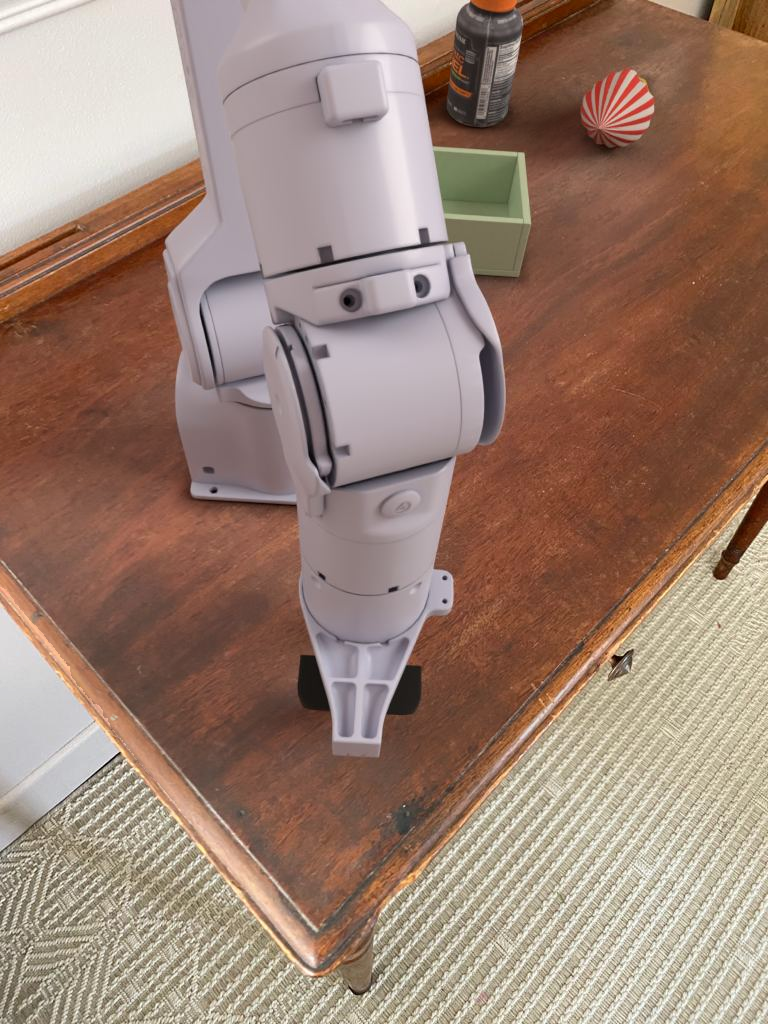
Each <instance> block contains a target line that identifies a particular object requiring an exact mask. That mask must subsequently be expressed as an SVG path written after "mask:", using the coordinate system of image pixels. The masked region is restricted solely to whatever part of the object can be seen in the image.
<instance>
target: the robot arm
mask: <svg viewBox="0 0 768 1024" xmlns="http://www.w3.org/2000/svg"><path fill="white" fill-rule="evenodd" d="M169 2H170V7H171V13H172V18H173V23H174V29H175V34H176V39H177V40H176V41H177V45H178V50H179V54H180V55H179V56H180V61H181V66H182V72H183V76H184V82H185V87H186V91H187V98H188V102H189V107H190V113H191V119H192V124H193V128H194V129H193V130H194V134H195V140H196V145H197V150H198V155H199V161H200V165H201V171H202V176H203V177H202V178H203V181H204V187H205V191H206V194H205V195H204V197H203V198H202V200H201V201H200V202H199V203H198V204H197V205H196V206H195V208H193V209H192V211H191V212H190V213H189V214H188V215H187V216H186V217H185V218H184V219H183V220H181V222H179V224H178V225H176V227H175V228H174V229H173V230H172V231H171V232H170V233H169V234H168V236H167V237H166V238H165V241H164V245H165V249H163V252H162V258H163V262H164V266H165V271H166V275H167V280H168V281H167V291H168V296H169V300H170V304H171V305H170V306H171V309H172V313H173V318H174V322H175V325H176V328H177V329H176V330H177V333H178V337H179V341H180V345H181V349H182V350H181V352H180V355H179V358H178V363H177V367H176V368H177V369H176V377H175V388H174V389H175V391H174V403H175V417H176V418H175V419H176V425H177V428H178V429H177V430H178V432H179V436H180V437H179V438H180V440H181V444H182V448H183V453H184V455H185V460H186V463H187V467H188V471H189V475H190V478H191V485H190V489H189V490H190V495H191V496H192V498H194V499H198V500H212V501H227V502H228V501H229V502H230V501H231V502H245V503H263V504H279V505H294V506H295V505H296V511H297V524H298V539H299V553H300V563H301V564H300V565H301V567H300V568H301V569H300V570H301V571H300V575H299V578H298V597H299V598H298V599H299V603H300V608H301V609H300V610H301V612H302V617H303V618H304V623H305V625H306V629H307V633H308V636H309V639H310V643H311V646H312V650H313V654H300V656H299V663H298V664H299V666H298V675H297V685H296V686H297V687H296V689H297V690H296V691H297V697H298V700H299V702H300V705H301V707H302V708H304V709H306V710H311V711H316V712H317V711H318V712H330V715H331V723H332V724H331V725H332V728H331V729H332V730H331V731H332V732H331V733H332V735H331V750H332V751H331V753H332V755H333V756H341V757H342V756H343V757H357V758H376V759H377V758H379V757H380V754H381V753H380V752H381V747H382V746H381V745H382V736H383V727H384V723H385V718H386V716H387V715H388V716H389V715H390V716H391V715H392V716H408V715H414V714H415V713H416V711H417V709H418V707H419V705H420V703H421V700H422V682H423V681H422V680H423V679H422V677H423V674H422V673H423V670H422V669H423V667H422V666H421V665H417V664H415V665H413V664H408V662H409V659H410V657H411V655H412V652H413V650H414V647H415V645H416V643H417V640H418V639H419V636H420V633H421V631H422V629H423V626H424V624H425V622H426V621H427V619H428V618H430V617H435V616H438V617H443V616H447V615H449V614H450V613H451V611H452V608H453V604H454V578H453V575H452V573H451V572H449V571H448V570H443V569H436V568H435V562H436V556H437V553H438V548H439V543H440V539H441V534H442V529H443V524H444V519H445V515H446V510H447V505H448V499H449V494H450V490H451V486H452V485H451V484H452V479H453V475H454V470H455V466H456V462H457V456H460V455H464V454H468V453H470V452H471V451H473V450H474V449H475V448H476V447H477V445H479V446H489V445H491V444H493V443H494V442H495V441H496V440H497V438H498V437H499V435H500V433H501V430H502V429H503V428H502V427H503V424H504V420H505V413H506V402H507V401H506V400H507V399H506V398H507V397H506V396H507V395H506V394H507V393H506V375H505V368H504V357H503V350H502V349H503V348H502V345H501V340H500V337H499V336H500V335H499V332H498V329H497V326H496V323H495V320H494V318H493V315H492V312H491V309H490V307H489V304H488V303H487V300H486V298H485V296H484V294H483V292H482V290H481V289H480V287H479V284H478V282H477V280H476V278H475V274H473V270H472V265H471V260H470V255H469V254H467V252H466V247H465V244H464V242H458V243H451V244H446V245H440V244H443V243H446V242H448V236H447V230H446V224H445V218H444V212H443V206H442V200H441V194H440V188H439V182H438V175H437V169H436V163H435V157H434V151H433V146H434V145H433V139H432V133H431V127H430V121H429V116H428V110H427V109H428V108H427V104H426V97H425V90H424V84H423V80H422V73H421V67H420V64H419V55H418V50H417V44H416V37H415V34H414V32H413V30H412V29H411V27H410V26H409V25H408V24H407V23H406V22H405V21H404V20H403V18H401V17H400V16H399V15H397V14H396V13H395V12H394V11H393V10H392V9H391V8H390V7H388V5H386V4H385V3H384V2H383V1H382V0H169ZM214 491H216V492H214ZM213 492H214V493H213Z"/></svg>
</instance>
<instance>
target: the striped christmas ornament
mask: <svg viewBox="0 0 768 1024" xmlns="http://www.w3.org/2000/svg"><path fill="white" fill-rule="evenodd" d="M581 102H582V103H581V105H580V116H581V120H580V121H581V124H582V126H583V127H584V128H585V129H586V130H587V136H588V137H589V138H590V139H593V140H594V143H596V144H597V145H604V146H605V147H606V148H609V149H612V148H615V147H619V148H624V147H627V146H629V145H630V144H631V143H634V142H636V141H638V140H639V139H641V137H642V136H643V135H644V133H646V131H647V130H648V129H649V127H650V123H651V119H652V116H653V115H654V113H655V97H654V95H652V93H651V92H650V90H649V86H648V83H647V80H646V79H645V78H642V77H639V75H638V73H637V71H635V70H634V69H630V68H624V69H622V70H620V71H618V72H610V73H608V75H607V76H606V77H605V78H603V79H602V80H598V81H596V82H595V83H594V85H593V87H592V88H591V89H590V90H589V91H587V92H586V93H585V94H584V95H583V98H582V101H581Z"/></svg>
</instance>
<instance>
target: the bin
mask: <svg viewBox="0 0 768 1024" xmlns="http://www.w3.org/2000/svg"><path fill="white" fill-rule="evenodd" d="M433 151H434V157H435V163H436V169H437V175H438V182H439V188H440V194H441V200H442V206H443V212H444V218H445V224H446V230H447V236H448V242H446V243H443V244H440V245H446V244H451V243H458V242H464V244H465V247H466V252H467V254H469V255H470V260H471V265H472V270H473V274H474V275H482V276H495V277H508V278H509V277H511V278H519V276H520V273H521V268H522V265H523V260H524V255H525V251H526V247H527V243H528V240H529V235H530V230H531V227H532V218H531V217H532V216H531V207H530V197H529V187H528V176H527V168H526V166H527V165H526V157H525V152H519V151H518V152H517V151H504V150H491V149H477V148H476V149H475V148H465V147H464V148H463V147H448V146H434V145H433Z"/></svg>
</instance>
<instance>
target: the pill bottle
mask: <svg viewBox="0 0 768 1024" xmlns="http://www.w3.org/2000/svg"><path fill="white" fill-rule="evenodd" d="M517 2H518V0H469V1H468V2H467V3H465V4H464V5H463V6H462V7H461V8H460V9H459V11H458V13H457V16H456V21H455V28H454V29H455V30H454V38H453V39H454V40H453V45H452V46H453V47H452V55H451V64H450V73H449V81H448V82H449V83H448V89H447V96H446V110H447V112H448V114H449V116H450V117H452V118H453V120H455V121H456V122H458V123H460V124H463V125H465V126H469V127H474V128H487V127H491V126H495V125H497V124H499V123H501V122H502V121H504V119H505V118H506V116H507V114H508V110H509V105H510V100H511V94H512V89H513V83H514V80H515V79H514V78H515V75H516V68H517V62H518V60H519V59H518V58H519V54H520V47H521V40H522V33H523V30H524V29H523V28H524V19H523V16H522V14H521V12H520V10H519V9H518V8H517V7H516V5H517Z"/></svg>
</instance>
